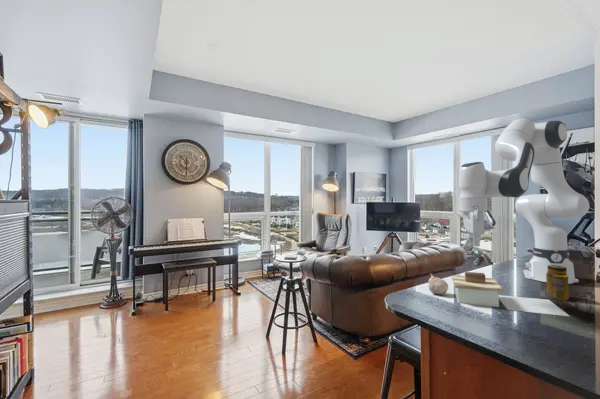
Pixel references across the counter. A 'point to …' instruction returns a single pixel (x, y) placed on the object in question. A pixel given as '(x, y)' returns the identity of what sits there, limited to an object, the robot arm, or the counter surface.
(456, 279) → the oak cover
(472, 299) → the mint green open box
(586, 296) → the counter surface
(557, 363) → the counter surface
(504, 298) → the white square tile
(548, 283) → the condiment
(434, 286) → the garlic bulb
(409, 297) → the counter surface
